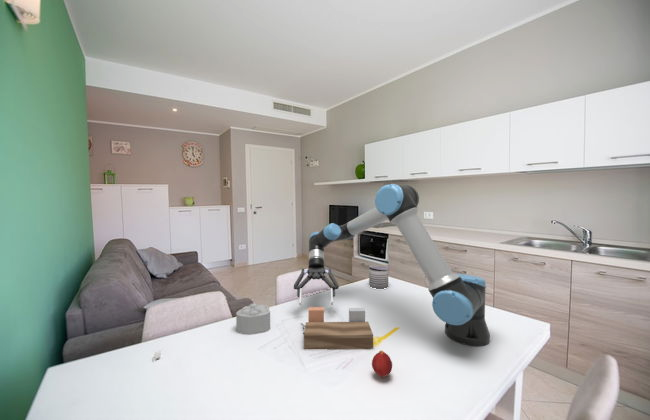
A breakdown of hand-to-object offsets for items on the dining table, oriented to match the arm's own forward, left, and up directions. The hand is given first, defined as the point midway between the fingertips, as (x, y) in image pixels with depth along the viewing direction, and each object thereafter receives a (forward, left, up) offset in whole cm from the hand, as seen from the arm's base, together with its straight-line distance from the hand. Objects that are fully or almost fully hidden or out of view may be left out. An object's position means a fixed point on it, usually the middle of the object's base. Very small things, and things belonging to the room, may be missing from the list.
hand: (316, 303), depth 115 cm
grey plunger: (-21, -6, -6) cm, 23 cm away
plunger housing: (-20, +2, -7) cm, 21 cm away
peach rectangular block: (-12, +7, -6) cm, 15 cm away
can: (+19, -53, -7) cm, 56 cm away
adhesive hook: (+4, +58, -8) cm, 59 cm away
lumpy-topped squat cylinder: (+7, +25, -7) cm, 27 cm away
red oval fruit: (-42, +1, -7) cm, 43 cm away
